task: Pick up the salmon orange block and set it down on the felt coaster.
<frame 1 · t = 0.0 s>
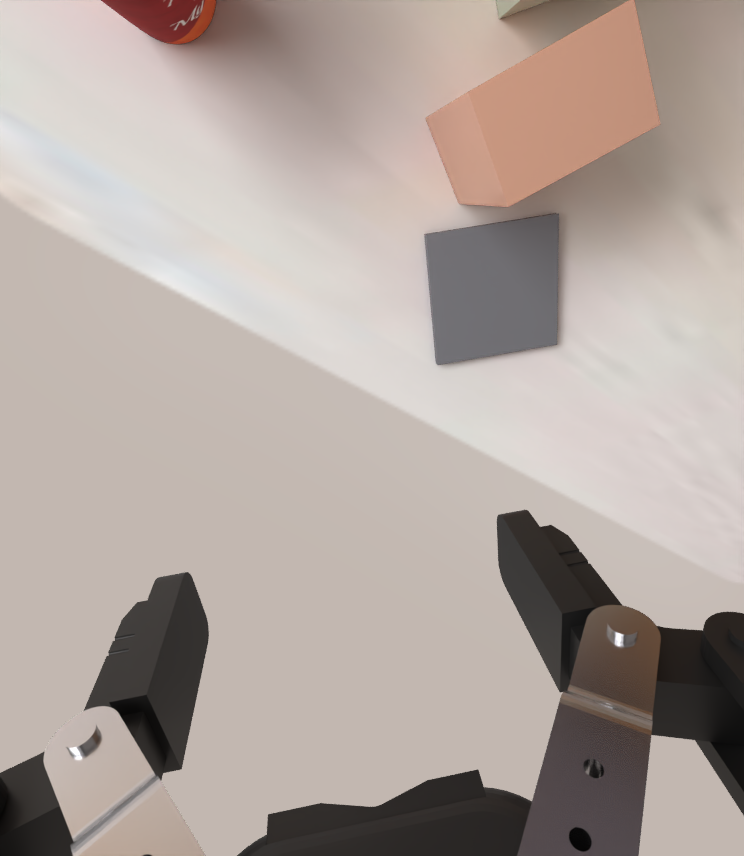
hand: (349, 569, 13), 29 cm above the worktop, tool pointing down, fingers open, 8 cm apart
salmon orange block: (500, 129, 36), on the worktop
felt coaster: (492, 291, 41), on the worktop
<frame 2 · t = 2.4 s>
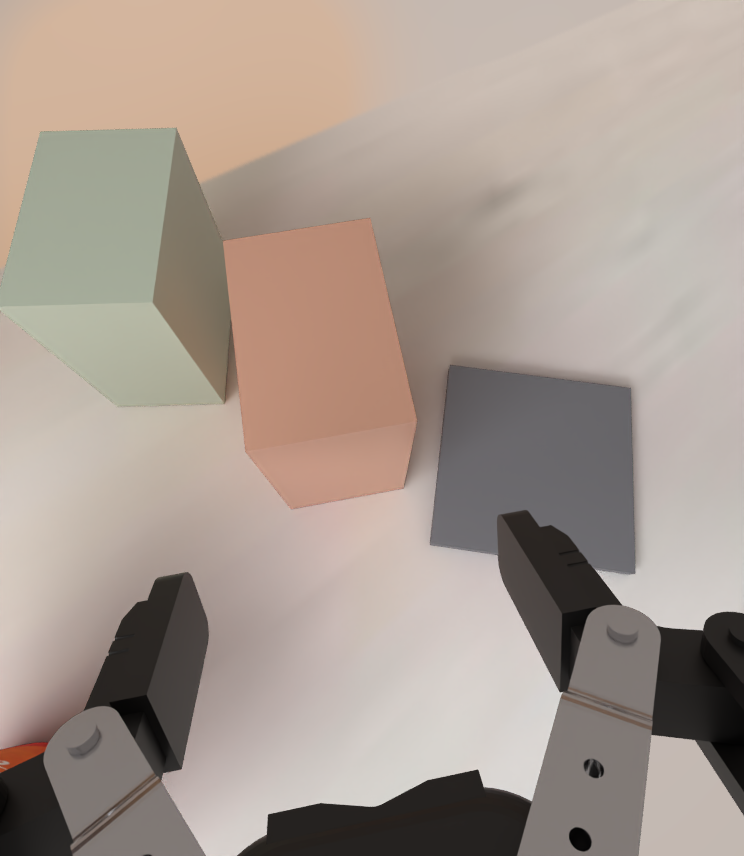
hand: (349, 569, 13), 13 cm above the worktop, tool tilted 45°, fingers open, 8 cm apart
salmon orange block: (333, 420, 29), on the worktop
felt coaster: (532, 464, 28), on the worktop
sage green block: (179, 335, 31), on the worktop
paper cup: (32, 812, 23), on the worktop
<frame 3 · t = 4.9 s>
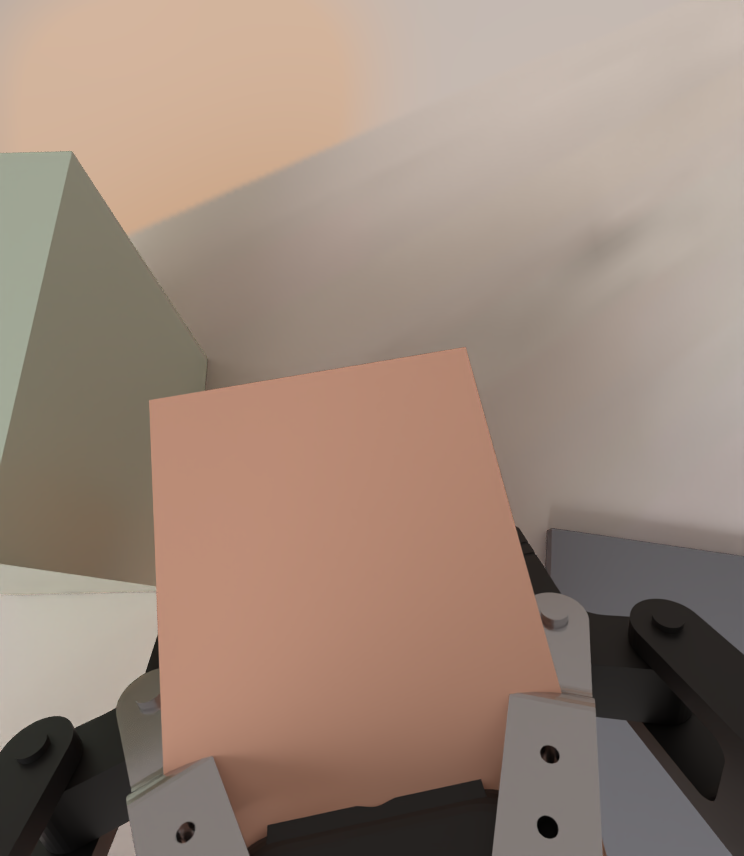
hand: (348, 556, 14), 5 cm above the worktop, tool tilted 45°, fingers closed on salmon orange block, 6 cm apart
salmon orange block: (363, 621, 18), on the worktop, touching gripper
felt coaster: (699, 709, 17), on the worktop
sage green block: (118, 467, 20), on the worktop
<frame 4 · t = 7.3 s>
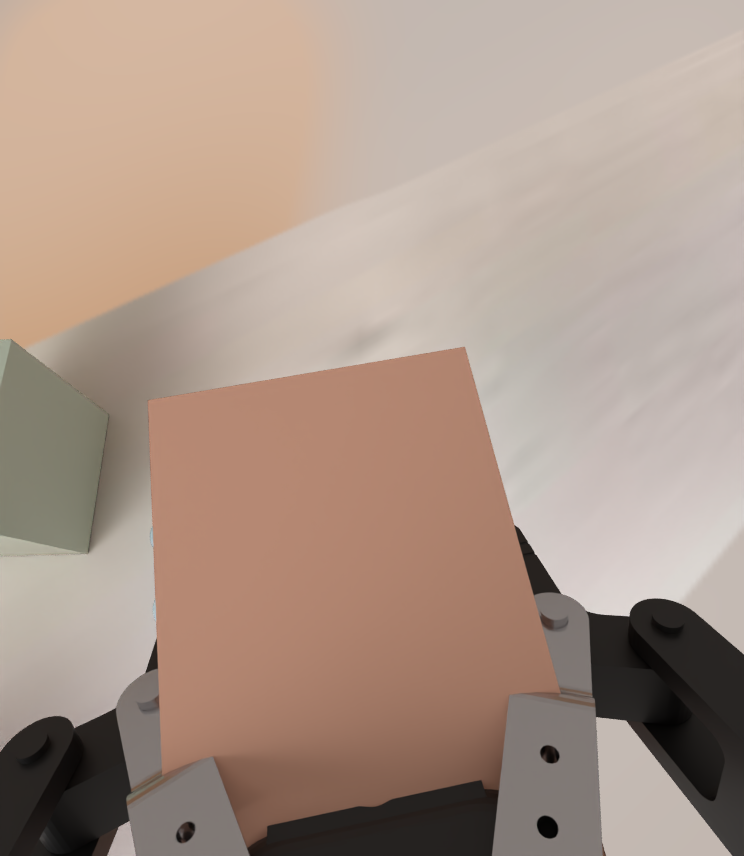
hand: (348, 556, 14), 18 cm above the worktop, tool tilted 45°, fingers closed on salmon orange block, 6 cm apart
salmon orange block: (363, 621, 18), point 13 cm above the worktop, touching gripper
sage green block: (50, 482, 33), on the worktop
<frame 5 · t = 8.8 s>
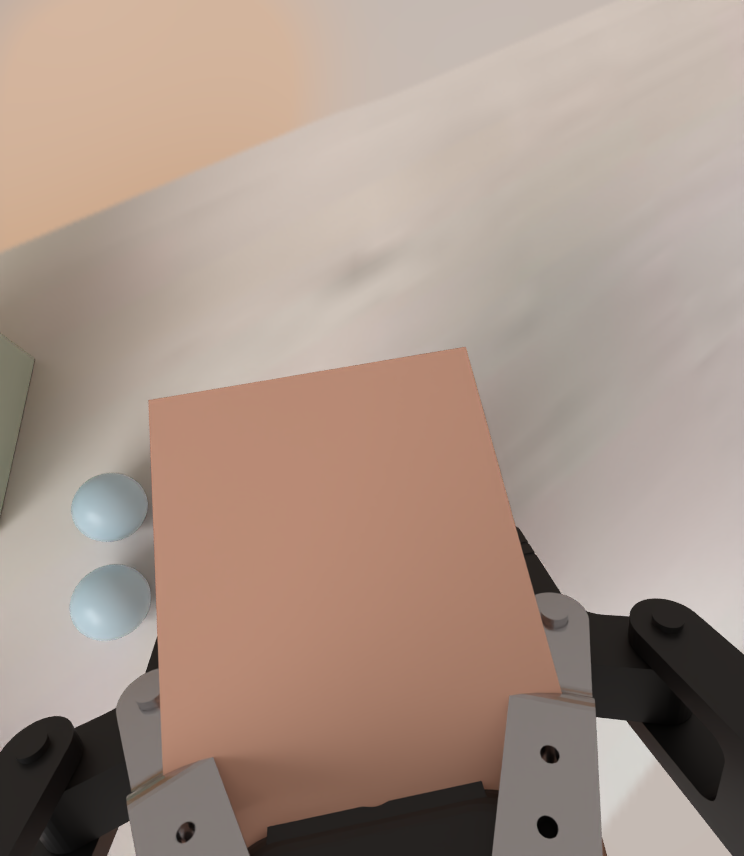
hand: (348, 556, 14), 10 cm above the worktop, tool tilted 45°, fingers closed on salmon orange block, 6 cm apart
salmon orange block: (364, 621, 18), point 5 cm above the worktop, touching gripper
marble 2: (127, 602, 23), on the worktop
marble 1: (125, 513, 24), on the worktop
when the fingers open (6 cm above the worktop, at t = 10.1 s): salmon orange block stays where it is, resting on felt coaster.
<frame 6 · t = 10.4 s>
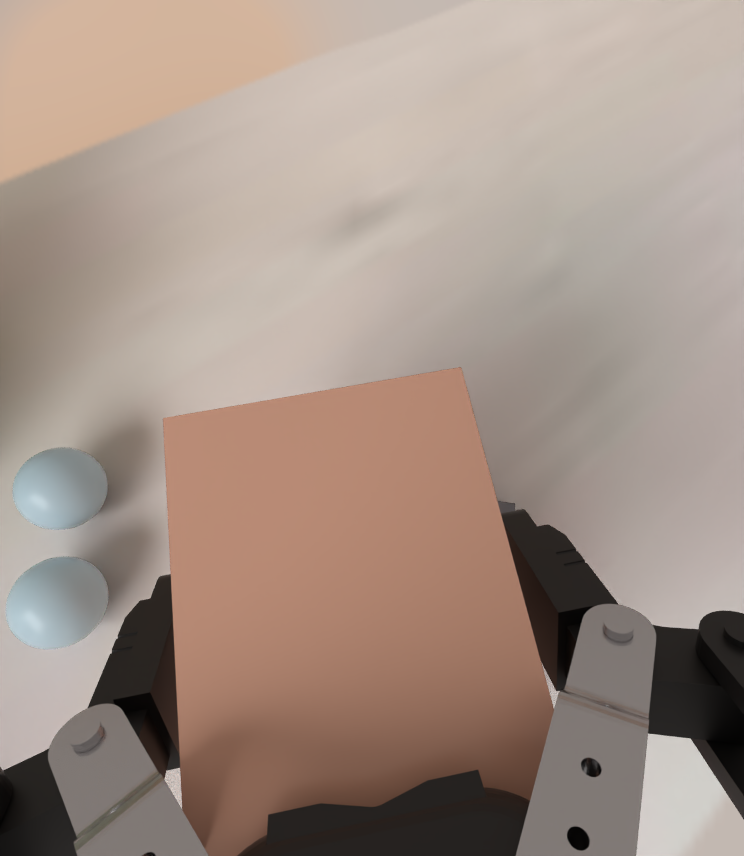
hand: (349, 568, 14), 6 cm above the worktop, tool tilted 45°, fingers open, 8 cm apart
salmon orange block: (365, 624, 18), point 1 cm above the worktop, touching felt coaster
marble 2: (82, 603, 19), on the worktop
marble 1: (83, 497, 20), on the worktop
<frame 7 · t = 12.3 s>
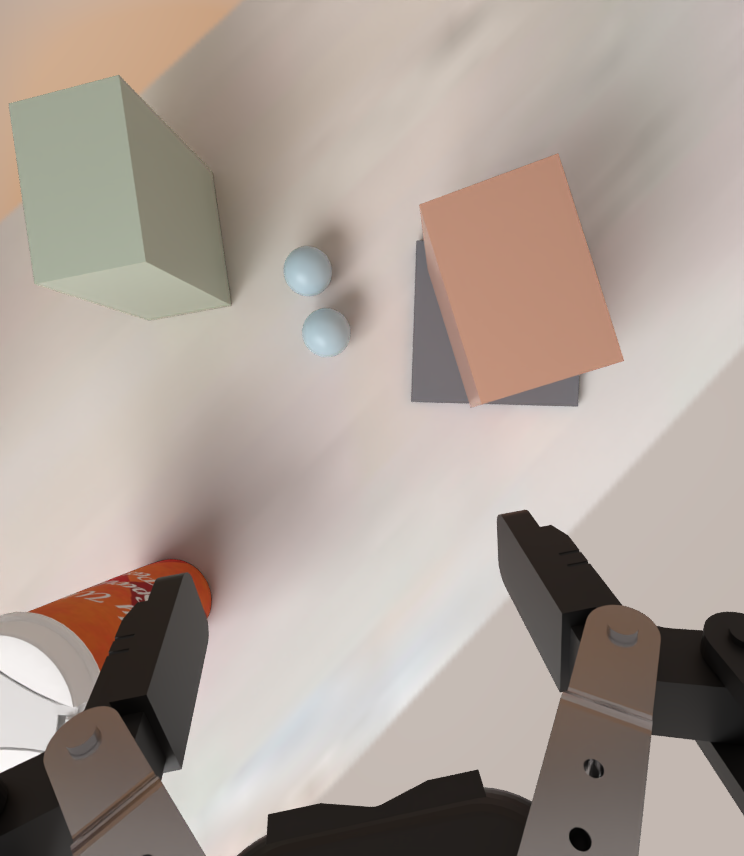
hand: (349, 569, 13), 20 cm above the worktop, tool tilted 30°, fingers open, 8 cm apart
salmon orange block: (496, 322, 32), point 1 cm above the worktop, touching felt coaster
felt coaster: (494, 323, 32), on the worktop
sage green block: (180, 247, 35), on the worktop
paper cup: (174, 597, 36), on the worktop
marble 2: (331, 336, 34), on the worktop
marble 1: (313, 277, 34), on the worktop
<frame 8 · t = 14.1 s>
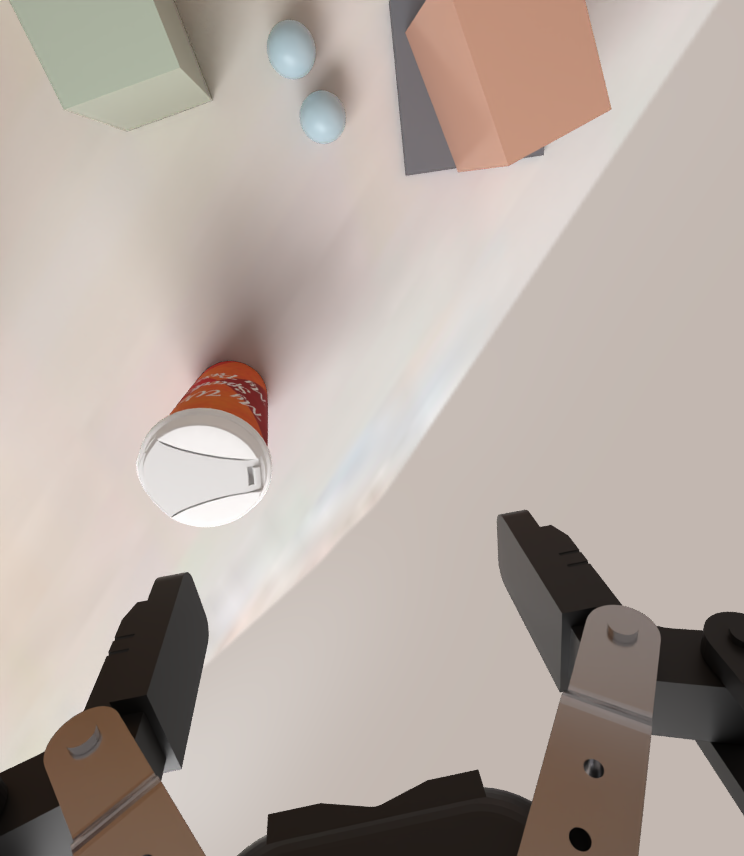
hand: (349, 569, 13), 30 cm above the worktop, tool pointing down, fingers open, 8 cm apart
salmon orange block: (473, 83, 35), point 1 cm above the worktop, touching felt coaster
felt coaster: (469, 84, 35), on the worktop
sage green block: (135, 35, 32), on the worktop
paper cup: (232, 392, 43), on the worktop
marble 2: (322, 120, 35), on the worktop
marble 1: (291, 56, 34), on the worktop
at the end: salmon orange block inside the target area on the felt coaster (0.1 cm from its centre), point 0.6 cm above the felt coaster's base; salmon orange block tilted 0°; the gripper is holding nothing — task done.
